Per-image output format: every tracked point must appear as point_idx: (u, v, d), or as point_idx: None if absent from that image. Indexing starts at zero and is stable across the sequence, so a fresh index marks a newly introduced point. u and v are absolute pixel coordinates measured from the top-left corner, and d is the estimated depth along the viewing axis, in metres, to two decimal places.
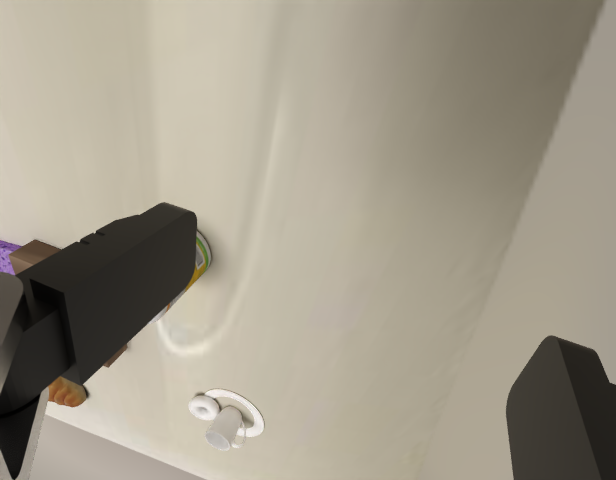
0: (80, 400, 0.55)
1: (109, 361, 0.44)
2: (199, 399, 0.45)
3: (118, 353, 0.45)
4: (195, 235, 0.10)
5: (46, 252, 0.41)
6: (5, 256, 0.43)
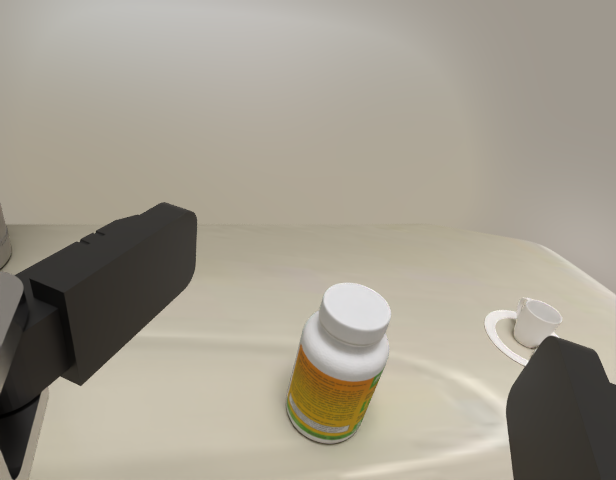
0: None
1: None
2: None
3: None
4: (195, 235, 0.10)
5: None
6: None
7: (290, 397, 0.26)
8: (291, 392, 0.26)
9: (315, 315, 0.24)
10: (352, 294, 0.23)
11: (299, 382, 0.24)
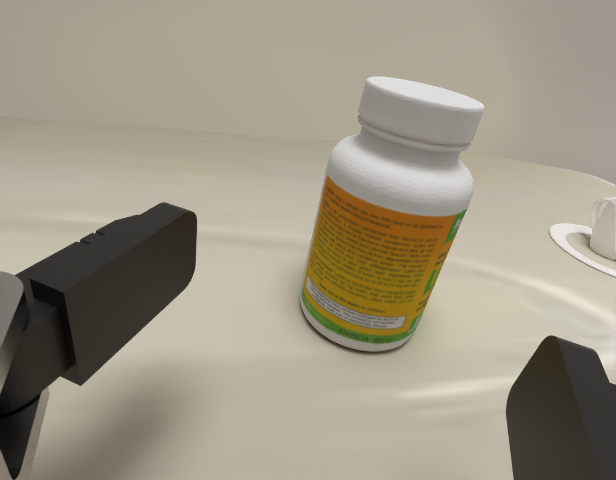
0: None
1: None
2: None
3: None
4: (195, 235, 0.10)
5: None
6: None
7: (308, 282, 0.16)
8: (309, 272, 0.16)
9: (349, 136, 0.15)
10: (412, 84, 0.14)
11: (324, 244, 0.15)
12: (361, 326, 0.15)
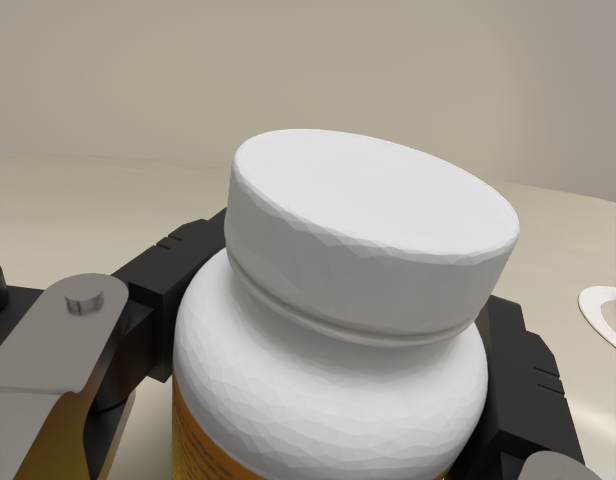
0: None
1: None
2: None
3: None
4: None
5: None
6: None
7: None
8: None
9: None
10: (355, 151, 0.06)
11: (177, 473, 0.07)
12: None
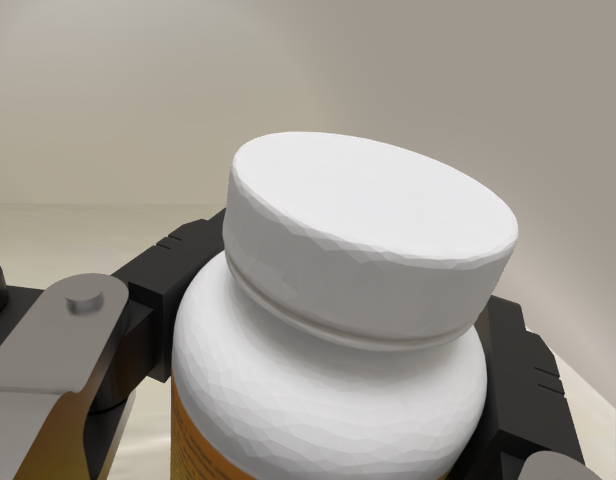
0: None
1: None
2: None
3: None
4: None
5: None
6: None
7: None
8: None
9: None
10: (353, 154, 0.06)
11: (175, 476, 0.07)
12: None
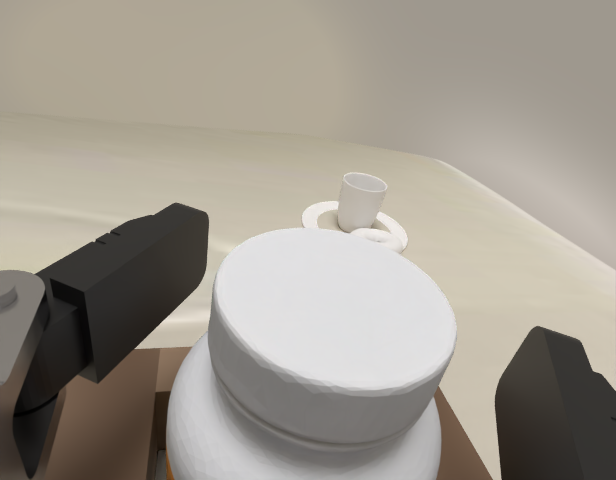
0: None
1: None
2: None
3: None
4: (207, 235, 0.10)
5: None
6: None
7: None
8: None
9: None
10: (322, 256, 0.07)
11: None
12: None
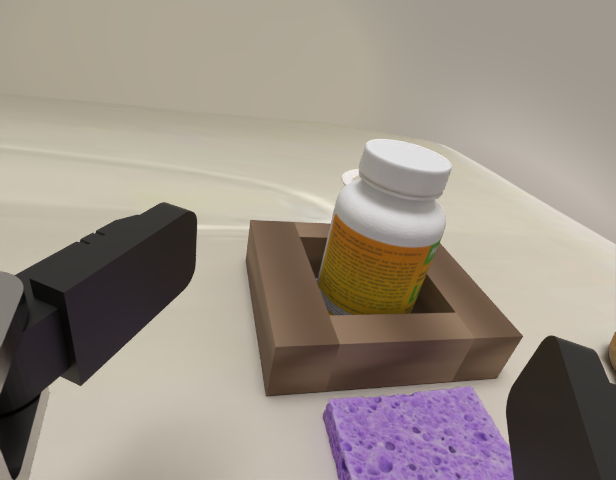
0: None
1: None
2: None
3: None
4: (195, 235, 0.10)
5: (261, 333, 0.19)
6: (368, 449, 0.15)
7: None
8: (321, 285, 0.21)
9: (352, 182, 0.20)
10: (400, 146, 0.19)
11: (333, 265, 0.19)
12: None
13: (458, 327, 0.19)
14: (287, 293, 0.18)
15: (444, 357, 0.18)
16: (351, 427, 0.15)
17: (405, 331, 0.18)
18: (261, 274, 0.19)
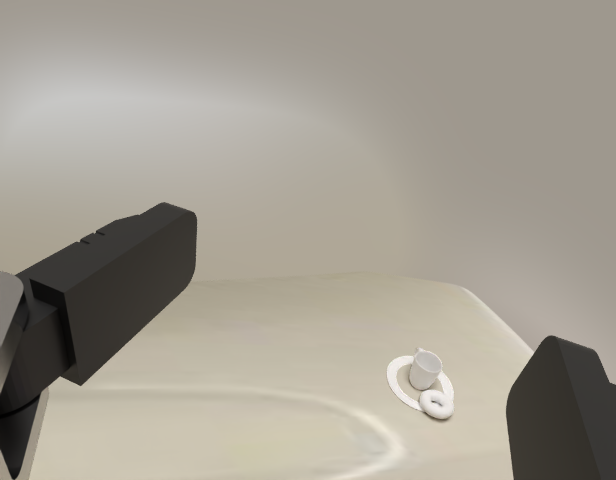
0: None
1: None
2: (425, 407, 0.43)
3: None
4: (195, 235, 0.10)
5: None
6: None
7: None
8: None
9: None
10: None
11: None
12: None
13: None
14: None
15: None
16: None
17: None
18: None
